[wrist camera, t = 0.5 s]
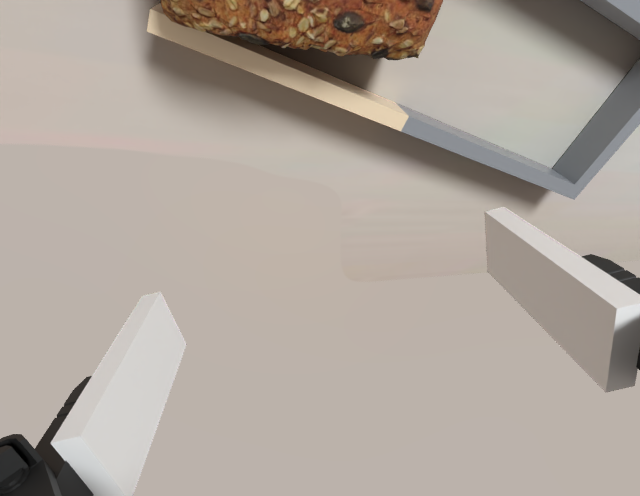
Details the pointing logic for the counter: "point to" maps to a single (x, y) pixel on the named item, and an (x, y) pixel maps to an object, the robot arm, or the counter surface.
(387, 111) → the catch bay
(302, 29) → the bread
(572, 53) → the counter surface
